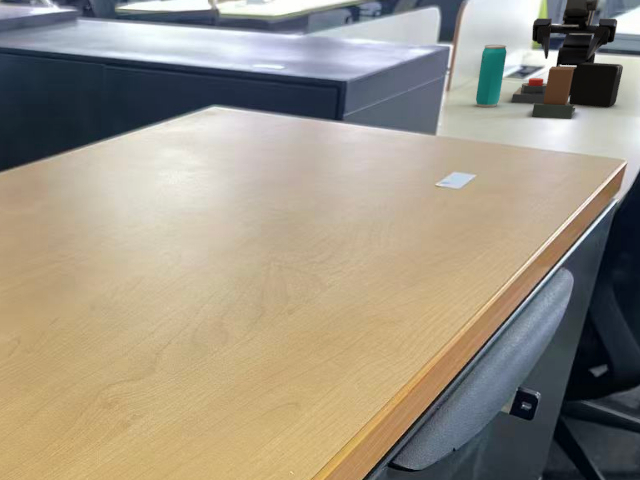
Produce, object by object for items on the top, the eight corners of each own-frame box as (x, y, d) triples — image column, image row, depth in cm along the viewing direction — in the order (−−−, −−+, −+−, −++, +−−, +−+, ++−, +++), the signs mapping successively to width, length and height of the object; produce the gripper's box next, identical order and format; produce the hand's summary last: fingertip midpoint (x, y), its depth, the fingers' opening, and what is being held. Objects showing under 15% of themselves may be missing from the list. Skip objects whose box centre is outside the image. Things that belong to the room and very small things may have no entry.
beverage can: (497, 104, 229) (507, 44, 222) (498, 108, 224) (507, 46, 217) (474, 104, 230) (483, 44, 224) (475, 107, 226) (483, 47, 219)
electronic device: (574, 102, 227) (582, 62, 223) (615, 105, 221) (623, 64, 216) (568, 104, 225) (576, 64, 220) (608, 107, 218) (617, 66, 214)
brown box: (543, 112, 217) (552, 66, 212) (565, 113, 214) (574, 67, 209) (541, 115, 213) (549, 69, 208) (563, 117, 210) (572, 69, 205)
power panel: (518, 95, 239) (520, 80, 238) (553, 97, 235) (556, 81, 233) (511, 102, 230) (513, 87, 228) (547, 104, 226) (550, 88, 224)
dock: (536, 110, 219) (538, 98, 217) (574, 112, 215) (577, 100, 213) (531, 116, 212) (533, 104, 211) (570, 118, 208) (573, 106, 207)
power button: (528, 84, 233) (530, 77, 232) (543, 85, 232) (544, 78, 231) (526, 86, 231) (528, 79, 230) (541, 87, 229) (542, 80, 228)
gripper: (540, -17, 213) (526, 35, 210) (625, -18, 205) (611, 36, 201) (539, 15, 223) (525, 65, 220) (620, 15, 214) (607, 67, 211)
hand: (566, 58), depth 213 cm, fingers open, 9 cm apart
